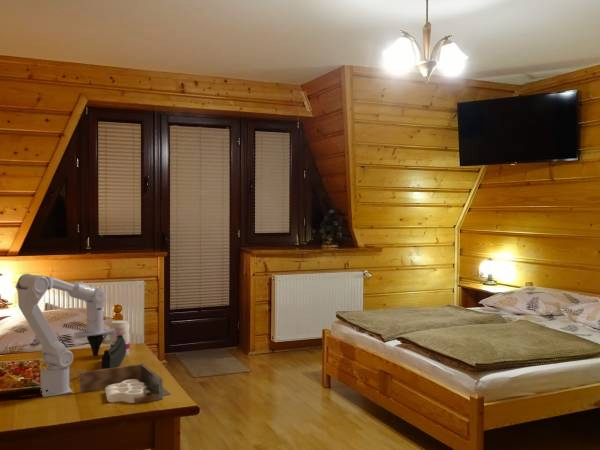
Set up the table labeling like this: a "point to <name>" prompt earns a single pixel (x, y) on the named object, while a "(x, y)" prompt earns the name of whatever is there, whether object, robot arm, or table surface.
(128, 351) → the supplement can
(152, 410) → the table surface
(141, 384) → the white multi-hole holder
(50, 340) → the robot arm
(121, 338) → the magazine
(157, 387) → the bookend
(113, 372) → the shelf wall
